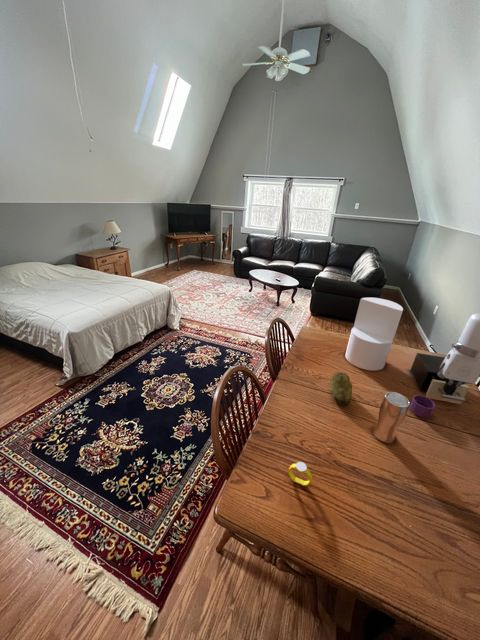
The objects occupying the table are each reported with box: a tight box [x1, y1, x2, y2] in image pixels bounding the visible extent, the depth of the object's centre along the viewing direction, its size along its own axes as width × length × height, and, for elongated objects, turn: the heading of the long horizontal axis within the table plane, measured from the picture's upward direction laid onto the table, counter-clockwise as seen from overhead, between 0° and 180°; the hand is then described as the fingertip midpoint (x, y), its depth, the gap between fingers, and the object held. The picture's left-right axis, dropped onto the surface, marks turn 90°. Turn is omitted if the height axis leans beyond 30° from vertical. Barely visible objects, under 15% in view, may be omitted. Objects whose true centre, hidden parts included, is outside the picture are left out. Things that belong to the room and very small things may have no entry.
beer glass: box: [372, 391, 411, 444], centre depth 83 cm, size 7×7×15 cm
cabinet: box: [409, 352, 446, 393], centre depth 110 cm, size 14×13×10 cm
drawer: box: [424, 374, 470, 405], centre depth 103 cm, size 18×11×8 cm, turn 164°
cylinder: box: [345, 297, 404, 371], centre depth 120 cm, size 17×17×28 cm
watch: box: [287, 461, 313, 487], centre depth 70 cm, size 6×3×6 cm, turn 61°
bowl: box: [408, 394, 436, 419], centre depth 96 cm, size 7×7×5 cm
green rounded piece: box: [330, 371, 353, 407], centre depth 100 cm, size 8×13×8 cm, turn 155°
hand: (447, 392), depth 98 cm, fingers closed
